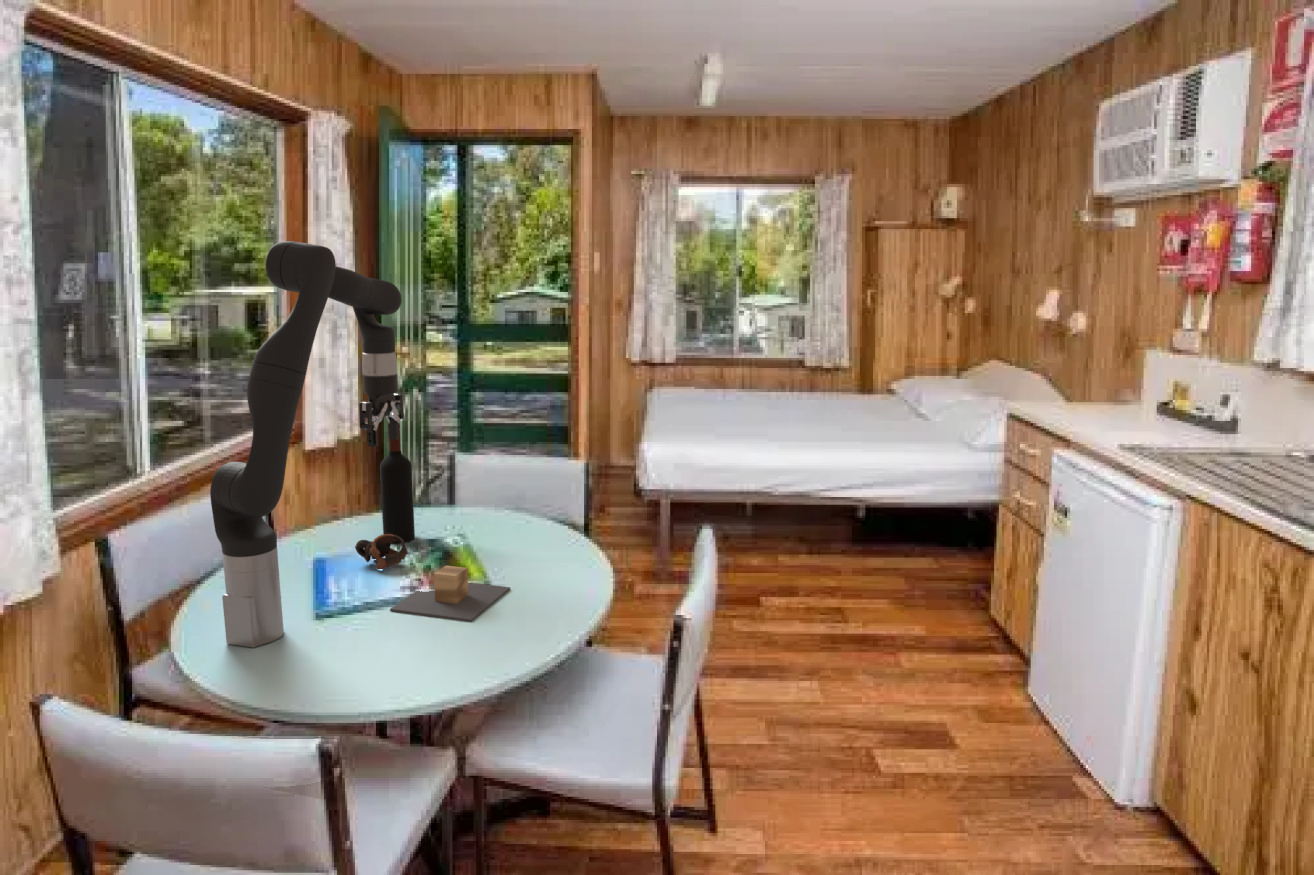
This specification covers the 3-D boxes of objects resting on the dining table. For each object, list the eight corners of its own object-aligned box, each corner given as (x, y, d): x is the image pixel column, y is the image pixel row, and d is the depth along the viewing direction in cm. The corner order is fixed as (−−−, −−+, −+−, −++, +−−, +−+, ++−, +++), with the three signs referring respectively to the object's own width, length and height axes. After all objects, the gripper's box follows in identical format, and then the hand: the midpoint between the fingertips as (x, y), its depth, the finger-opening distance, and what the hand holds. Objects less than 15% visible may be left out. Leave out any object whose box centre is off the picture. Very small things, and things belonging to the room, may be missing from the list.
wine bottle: (377, 542, 223) (371, 423, 217) (394, 533, 230) (389, 418, 224) (404, 545, 221) (398, 425, 215) (420, 536, 228) (415, 420, 222)
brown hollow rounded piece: (409, 558, 213) (413, 534, 208) (399, 588, 206) (403, 564, 201) (358, 547, 212) (361, 522, 207) (346, 576, 204) (348, 552, 199)
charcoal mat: (471, 621, 176) (471, 619, 176) (390, 611, 181) (390, 608, 181) (510, 589, 193) (510, 587, 193) (435, 580, 198) (435, 578, 198)
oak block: (456, 603, 184) (455, 576, 182) (434, 601, 185) (433, 573, 184) (468, 595, 188) (467, 567, 187) (446, 592, 190) (445, 565, 188)
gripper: (376, 377, 194) (380, 450, 197) (411, 369, 207) (414, 437, 211) (346, 375, 196) (350, 448, 199) (383, 367, 209) (386, 435, 213)
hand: (383, 442), depth 205 cm, fingers open, 8 cm apart
